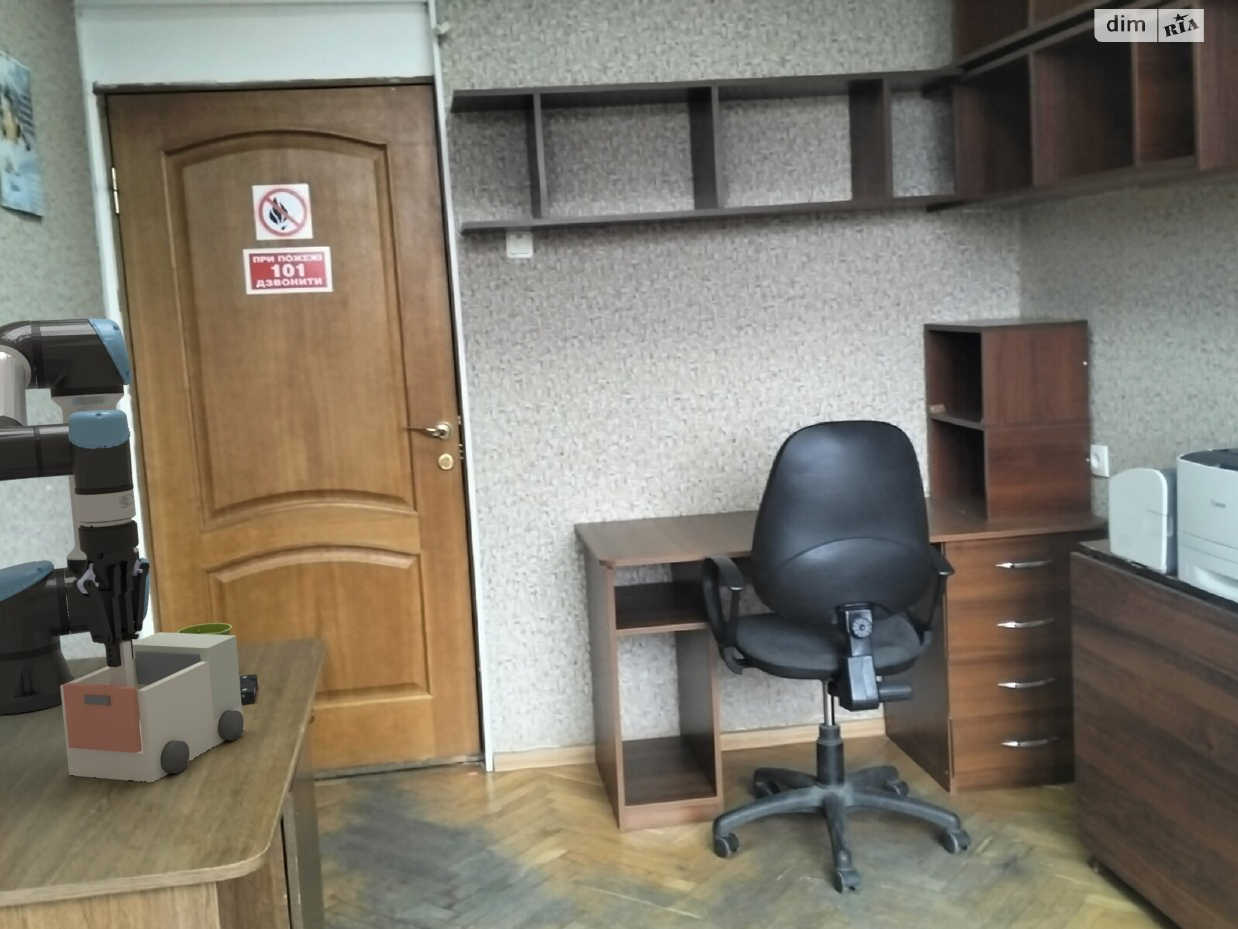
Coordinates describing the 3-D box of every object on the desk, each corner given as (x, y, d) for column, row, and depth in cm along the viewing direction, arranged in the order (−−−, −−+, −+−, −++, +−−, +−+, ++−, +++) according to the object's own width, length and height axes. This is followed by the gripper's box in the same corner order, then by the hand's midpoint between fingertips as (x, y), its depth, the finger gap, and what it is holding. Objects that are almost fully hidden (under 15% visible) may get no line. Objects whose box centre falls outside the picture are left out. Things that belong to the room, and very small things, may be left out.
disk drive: (258, 689, 200) (167, 698, 196) (257, 673, 200) (166, 682, 196) (255, 706, 190) (160, 716, 186) (254, 690, 190) (158, 700, 186)
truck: (60, 774, 161) (50, 671, 160) (159, 724, 181) (151, 632, 180) (162, 783, 157) (152, 677, 155) (251, 730, 177) (243, 635, 175)
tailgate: (67, 748, 159) (61, 685, 158) (74, 745, 160) (68, 682, 159) (135, 753, 156) (129, 689, 155) (141, 750, 157) (136, 686, 156)
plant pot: (182, 672, 210) (178, 626, 209) (236, 665, 213) (232, 620, 212) (178, 686, 201) (174, 638, 200) (235, 679, 204) (231, 632, 203)
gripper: (96, 530, 151) (113, 703, 154) (161, 514, 164) (175, 674, 167) (50, 529, 153) (66, 700, 156) (117, 513, 166) (131, 672, 169)
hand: (122, 686), depth 161 cm, fingers closed
